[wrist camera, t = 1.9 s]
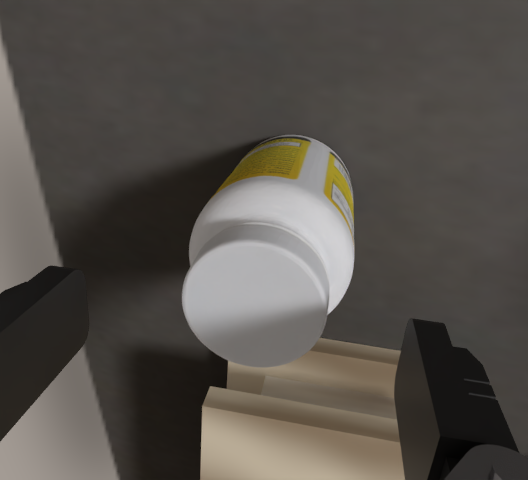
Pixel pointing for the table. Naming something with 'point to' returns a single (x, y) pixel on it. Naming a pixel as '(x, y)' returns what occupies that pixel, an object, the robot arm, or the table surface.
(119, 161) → the table surface
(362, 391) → the wooden pedestal stand
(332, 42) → the table surface
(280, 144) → the supplement bottle
